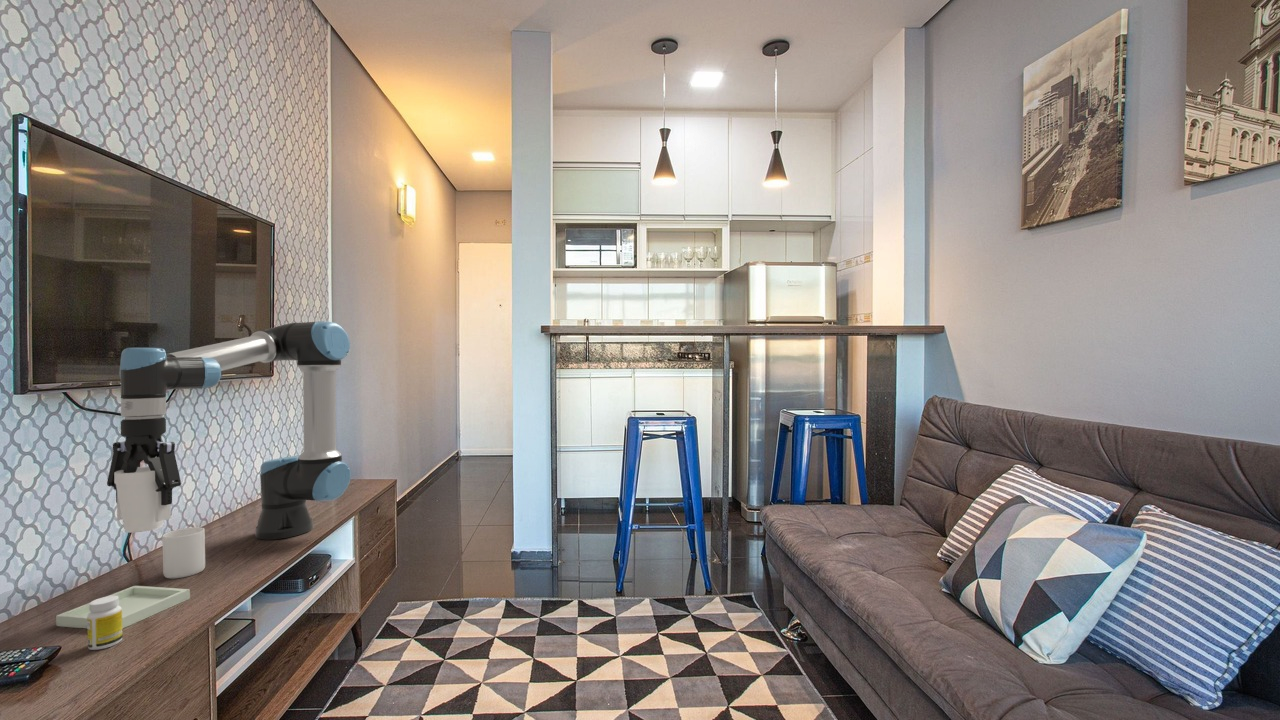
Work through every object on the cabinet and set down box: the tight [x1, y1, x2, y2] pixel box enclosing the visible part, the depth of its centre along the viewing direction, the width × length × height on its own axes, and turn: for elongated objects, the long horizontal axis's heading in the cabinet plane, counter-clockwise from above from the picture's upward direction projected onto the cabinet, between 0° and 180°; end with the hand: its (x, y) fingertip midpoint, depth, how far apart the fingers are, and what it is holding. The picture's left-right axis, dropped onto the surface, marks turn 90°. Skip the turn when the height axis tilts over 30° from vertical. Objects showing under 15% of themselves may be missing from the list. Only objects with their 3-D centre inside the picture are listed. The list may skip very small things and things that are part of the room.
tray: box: [55, 585, 191, 630], centre depth 120 cm, size 15×15×2 cm
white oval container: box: [161, 526, 206, 580], centre depth 143 cm, size 12×8×10 cm
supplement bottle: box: [87, 595, 124, 651], centre depth 106 cm, size 5×5×8 cm
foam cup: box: [114, 465, 165, 534], centre depth 124 cm, size 10×9×13 cm
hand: (144, 519), depth 124 cm, fingers closed on foam cup, 9 cm apart
